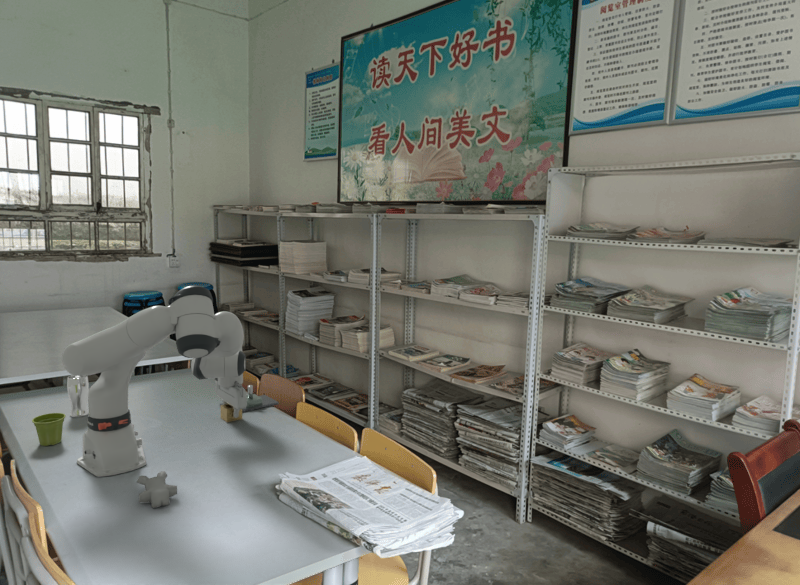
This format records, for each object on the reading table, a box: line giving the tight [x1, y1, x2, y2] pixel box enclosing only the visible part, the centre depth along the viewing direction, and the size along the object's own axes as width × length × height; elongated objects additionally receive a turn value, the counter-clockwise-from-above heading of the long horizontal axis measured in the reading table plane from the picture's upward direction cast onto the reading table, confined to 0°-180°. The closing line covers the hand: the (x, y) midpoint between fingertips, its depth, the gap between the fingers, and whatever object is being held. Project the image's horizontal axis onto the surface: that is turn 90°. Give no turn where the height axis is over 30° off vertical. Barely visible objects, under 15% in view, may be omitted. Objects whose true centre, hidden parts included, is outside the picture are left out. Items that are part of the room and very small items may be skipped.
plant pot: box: [31, 412, 66, 447], centre depth 185 cm, size 9×9×9 cm
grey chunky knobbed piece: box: [136, 470, 178, 509], centre depth 151 cm, size 10×5×15 cm
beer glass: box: [66, 374, 90, 418], centre depth 211 cm, size 7×7×15 cm
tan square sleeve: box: [219, 404, 243, 423], centre depth 211 cm, size 6×6×5 cm
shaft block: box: [219, 384, 280, 413], centre depth 226 cm, size 12×20×8 cm, turn 130°
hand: (231, 414), depth 211 cm, fingers open, 6 cm apart
